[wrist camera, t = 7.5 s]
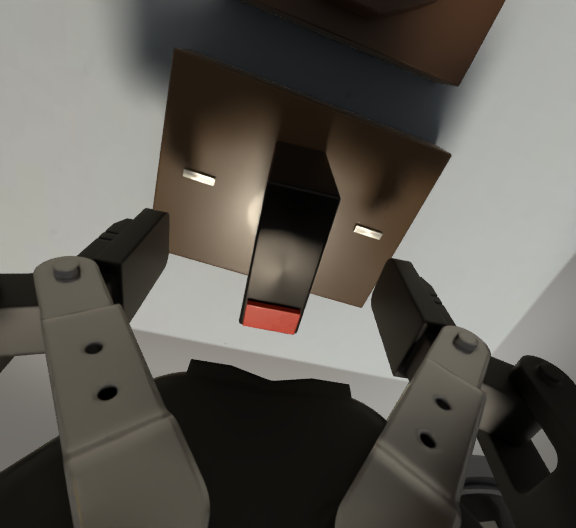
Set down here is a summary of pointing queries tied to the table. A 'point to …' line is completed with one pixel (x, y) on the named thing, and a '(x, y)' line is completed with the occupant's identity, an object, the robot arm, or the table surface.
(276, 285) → the thumbturn
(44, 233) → the table surface
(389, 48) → the block
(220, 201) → the plate
